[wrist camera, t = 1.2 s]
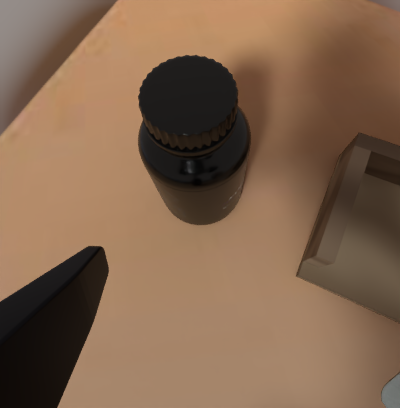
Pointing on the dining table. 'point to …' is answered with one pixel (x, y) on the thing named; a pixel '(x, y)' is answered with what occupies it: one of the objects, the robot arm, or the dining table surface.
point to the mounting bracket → (392, 393)
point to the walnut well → (360, 229)
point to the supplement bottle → (194, 137)
